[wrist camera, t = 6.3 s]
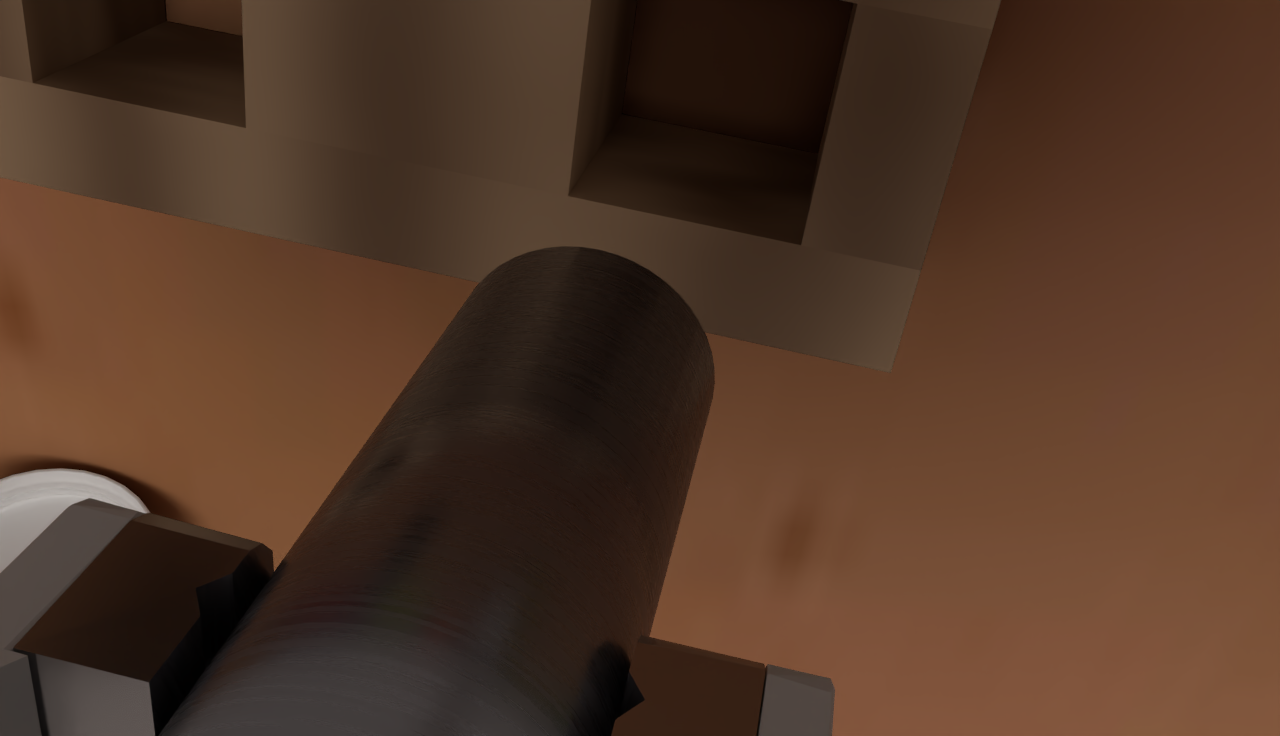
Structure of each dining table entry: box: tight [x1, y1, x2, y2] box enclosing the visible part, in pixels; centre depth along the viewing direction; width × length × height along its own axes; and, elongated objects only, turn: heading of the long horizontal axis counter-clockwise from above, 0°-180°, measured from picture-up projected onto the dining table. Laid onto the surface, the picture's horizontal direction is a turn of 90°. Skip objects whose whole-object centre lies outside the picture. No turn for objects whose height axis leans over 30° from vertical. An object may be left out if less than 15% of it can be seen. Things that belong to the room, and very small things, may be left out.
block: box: [0, 0, 1001, 373], centre depth 24 cm, size 20×9×5 cm, turn 82°
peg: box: [159, 246, 715, 736], centre depth 10 cm, size 3×3×9 cm
